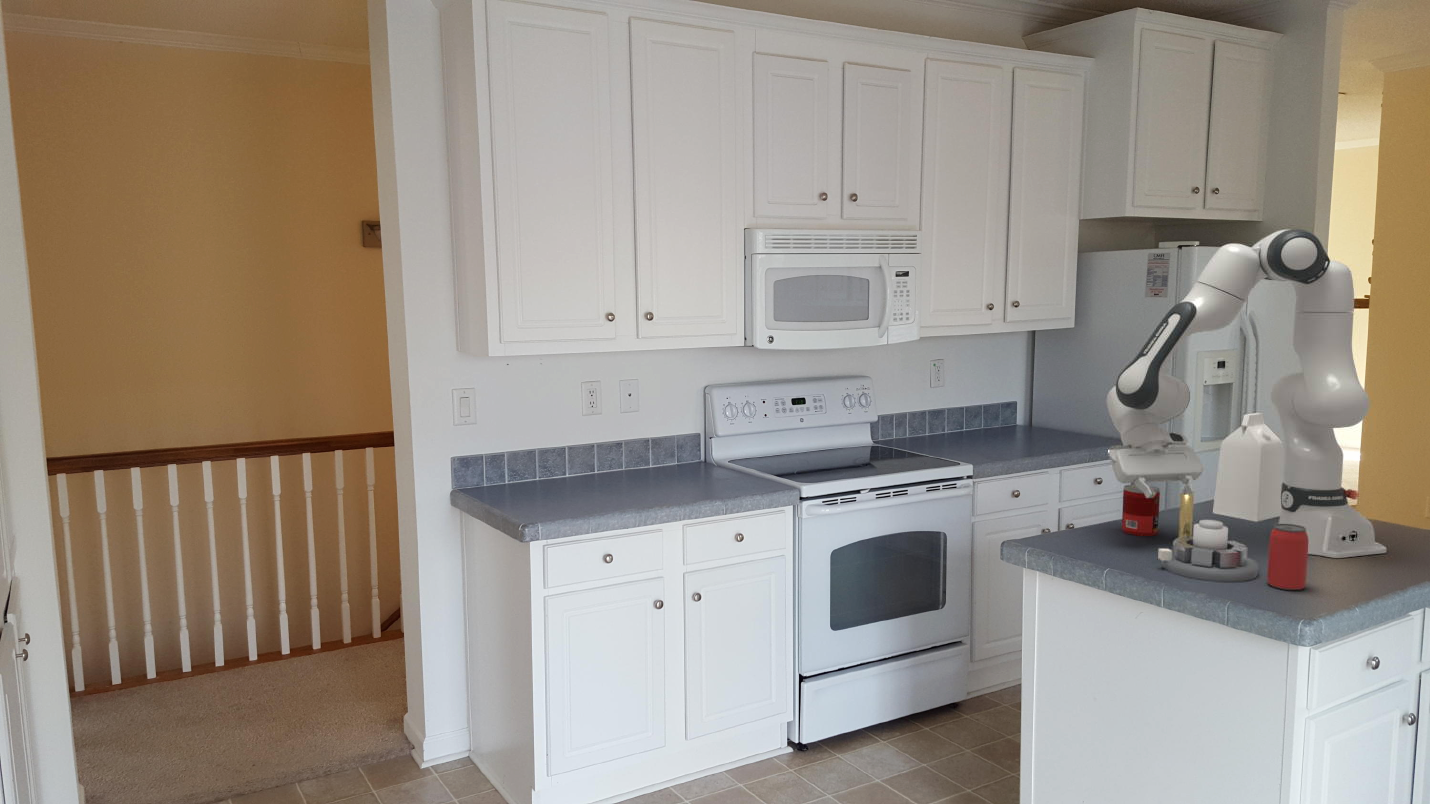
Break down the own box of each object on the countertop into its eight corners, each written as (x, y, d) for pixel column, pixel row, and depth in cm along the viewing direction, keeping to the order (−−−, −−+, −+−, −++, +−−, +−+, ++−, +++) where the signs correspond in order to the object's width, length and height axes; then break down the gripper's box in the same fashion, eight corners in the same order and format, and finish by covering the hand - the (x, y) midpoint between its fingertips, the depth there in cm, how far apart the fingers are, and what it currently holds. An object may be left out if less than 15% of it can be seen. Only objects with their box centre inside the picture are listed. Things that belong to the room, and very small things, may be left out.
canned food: (1161, 537, 236) (1163, 491, 234) (1125, 535, 237) (1127, 489, 236) (1153, 529, 243) (1155, 484, 242) (1118, 527, 245) (1120, 483, 243)
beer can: (1259, 581, 200) (1263, 523, 199) (1291, 580, 201) (1294, 522, 199) (1280, 591, 194) (1284, 531, 192) (1313, 590, 194) (1317, 530, 193)
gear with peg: (1259, 566, 203) (1263, 509, 202) (1197, 568, 202) (1200, 511, 200) (1210, 544, 220) (1212, 492, 218) (1152, 546, 218) (1154, 493, 217)
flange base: (1222, 555, 219) (1225, 511, 218) (1277, 579, 201) (1280, 531, 200) (1140, 558, 217) (1142, 513, 216) (1188, 583, 199) (1190, 534, 198)
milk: (1238, 507, 266) (1244, 410, 263) (1282, 515, 256) (1289, 414, 253) (1212, 512, 259) (1218, 413, 256) (1256, 521, 250) (1262, 418, 247)
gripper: (1110, 438, 226) (1134, 489, 217) (1191, 435, 230) (1218, 485, 221) (1098, 454, 231) (1121, 505, 222) (1178, 451, 235) (1203, 501, 226)
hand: (1170, 495), depth 222 cm, fingers open, 8 cm apart
